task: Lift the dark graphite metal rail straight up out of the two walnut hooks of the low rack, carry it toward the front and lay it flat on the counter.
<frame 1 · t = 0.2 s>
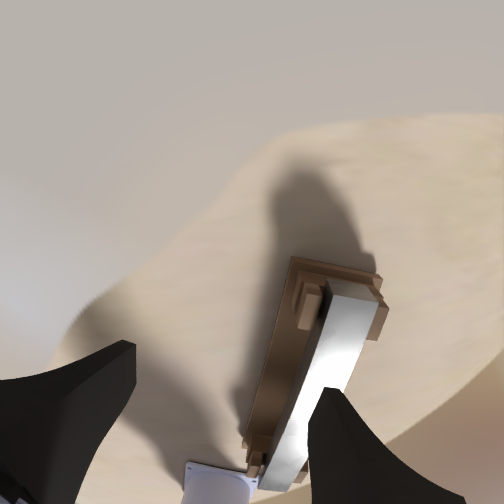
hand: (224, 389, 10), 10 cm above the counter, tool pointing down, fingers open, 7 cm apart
graphite rail: (303, 402, 18), point 3 cm above the counter, touching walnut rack
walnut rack: (301, 376, 21), on the counter
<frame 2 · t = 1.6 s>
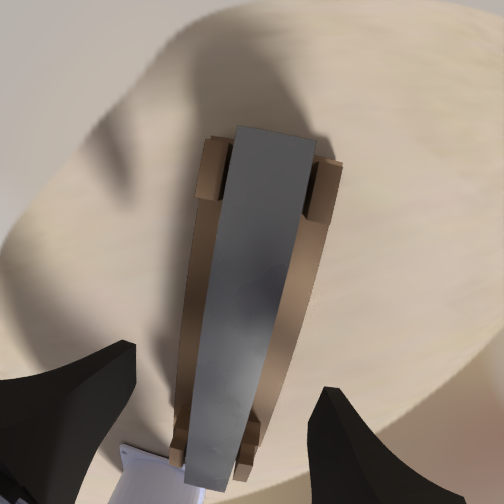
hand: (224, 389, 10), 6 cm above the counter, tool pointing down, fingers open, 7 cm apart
graphite rail: (234, 350, 13), point 3 cm above the counter, touching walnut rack
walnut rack: (241, 321, 16), on the counter
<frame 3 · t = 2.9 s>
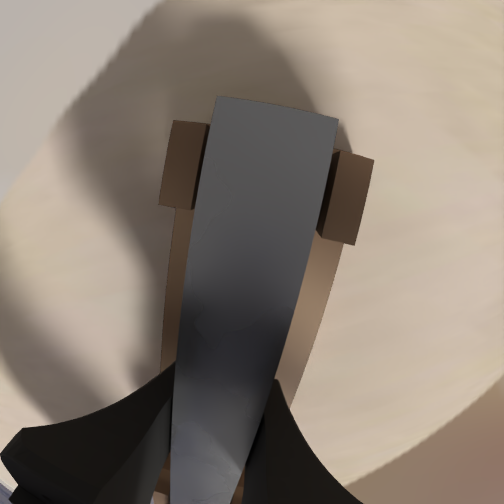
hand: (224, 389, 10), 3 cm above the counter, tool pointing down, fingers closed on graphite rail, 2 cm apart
graphite rail: (222, 396, 10), point 3 cm above the counter, touching gripper, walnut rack
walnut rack: (233, 352, 13), on the counter
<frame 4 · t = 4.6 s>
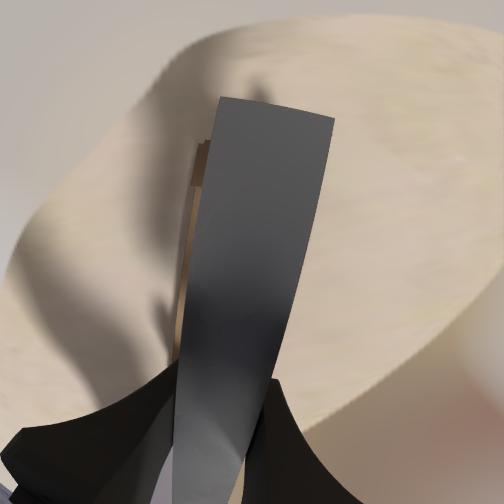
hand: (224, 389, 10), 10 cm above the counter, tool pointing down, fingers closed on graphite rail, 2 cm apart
graphite rail: (223, 387, 10), point 10 cm above the counter, touching gripper
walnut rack: (228, 289, 20), on the counter
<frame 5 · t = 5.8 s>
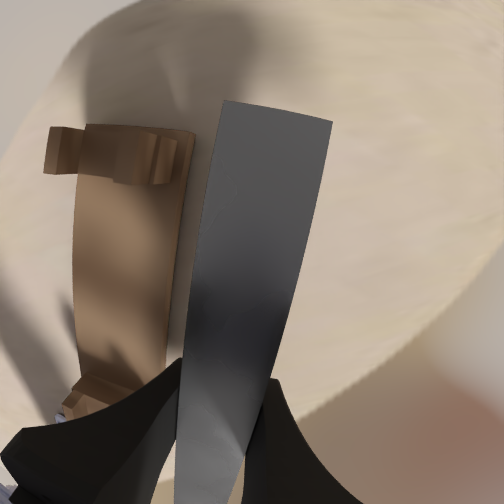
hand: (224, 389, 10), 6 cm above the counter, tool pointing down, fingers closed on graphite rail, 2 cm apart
graphite rail: (225, 382, 11), point 5 cm above the counter, touching gripper
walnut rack: (122, 290, 16), on the counter
when the fingers open (1 cm above the counter, at t = 6.8 s): graphite rail drops 1 cm, on the counter.
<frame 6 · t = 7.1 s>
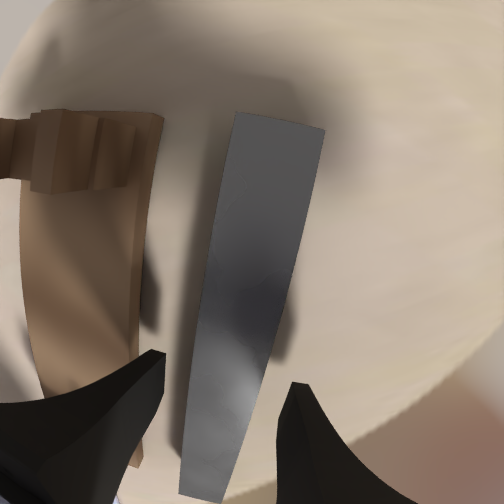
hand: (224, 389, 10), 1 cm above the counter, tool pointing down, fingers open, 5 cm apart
graphite rail: (231, 359, 12), on the counter
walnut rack: (82, 323, 12), on the counter
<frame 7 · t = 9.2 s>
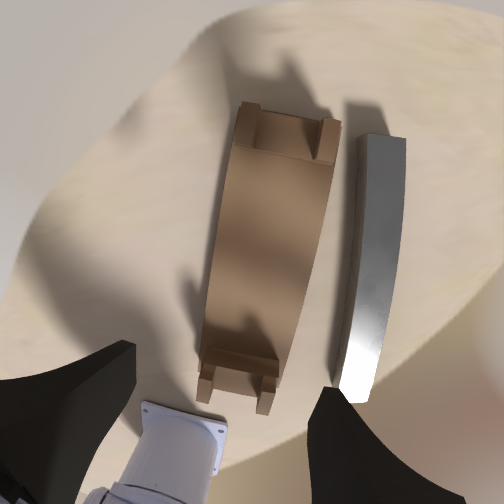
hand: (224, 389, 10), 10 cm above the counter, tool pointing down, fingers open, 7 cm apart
graphite rail: (365, 276, 19), on the counter
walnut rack: (262, 260, 19), on the counter
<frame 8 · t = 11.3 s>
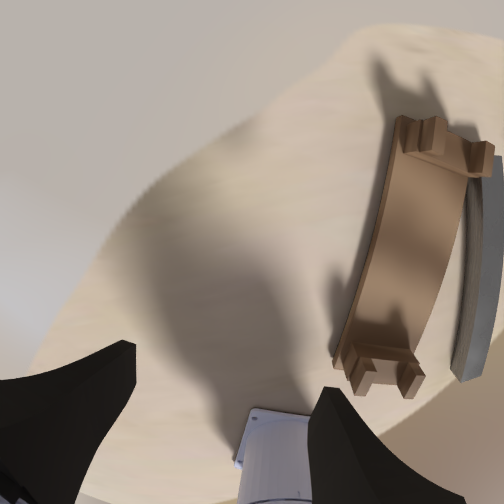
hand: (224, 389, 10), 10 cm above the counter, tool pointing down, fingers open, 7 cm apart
graphite rail: (474, 271, 19), on the counter
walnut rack: (407, 256, 19), on the counter
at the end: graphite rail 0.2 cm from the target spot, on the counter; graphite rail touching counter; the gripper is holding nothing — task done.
